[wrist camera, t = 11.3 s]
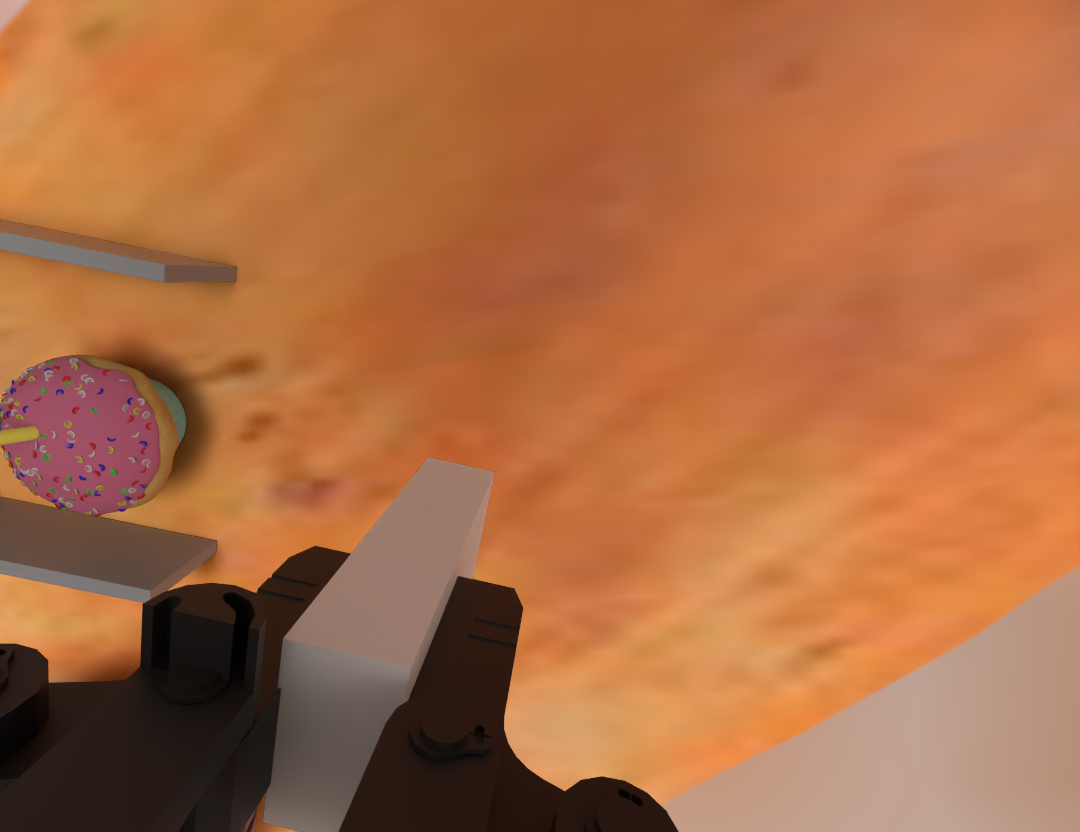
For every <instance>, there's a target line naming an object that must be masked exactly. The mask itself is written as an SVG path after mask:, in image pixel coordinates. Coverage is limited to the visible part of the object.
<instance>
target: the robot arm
mask: <svg viewBox="0 0 1080 832" xmlns="http://www.w3.org/2000/svg"><path fill="white" fill-rule="evenodd" d="M494 473H495V472H492V471H488V470H483V469H479V468H474V467H470V466H465V465H461V464H456V463H452V462H447V461H443V460H438V459H434V458H429V457H428V459H427V460H426V461H425V462H424V463H423V465H422V466H421V467H420V468H419V470H418V471H417V472H416V473H415V475H414V476H413V477H412V478H411V480H410V481H409V482H408V483H407V485H406V486H405V487H404V488H403V490H402V491H401V492H400V493H399V495H398V496H397V497H396V498H395V500H394V501H393V502H392V503H391V505H390V506H389V507H388V508H387V510H386V511H385V512H384V513H383V515H382V516H381V517H380V518H379V520H378V521H377V522H376V523H375V525H374V526H373V527H372V528H371V530H370V531H369V532H368V533H367V535H366V536H365V537H364V538H363V540H362V541H361V542H360V543H359V545H358V546H357V547H356V548H355V550H354V551H353V552H352V553H351V554H350V553H345V552H341V551H336V550H332V549H327V548H323V547H319V546H314V547H311V548H309V549H307V550H305V551H303V552H300V553H298V554H296V555H294V556H292V557H289V558H288V559H287V560H286V561H285V562H284V563H283V564H282V565H281V566H280V567H279V568H278V569H277V570H276V571H275V572H274V573H273V574H272V577H271V578H268V579H267V580H266V581H265V582H264V583H263V584H262V585H261V586H260V587H259V588H258V591H257V593H255V592H251V591H249V590H246V589H244V588H241V587H238V586H236V585H227V584H218V583H206V584H195V585H186V586H183V587H180V588H176V589H173V590H169V591H166V592H163V593H161V594H159V595H157V596H156V597H154V598H152V599H150V600H148V601H147V602H145V603H143V610H142V637H141V664H140V668H138V669H137V670H136V671H135V672H134V673H133V674H132V675H131V676H130V677H129V678H127V679H126V680H120V681H109V682H62V683H48V660H47V659H46V658H45V657H44V656H43V655H42V654H41V653H40V652H39V651H38V650H37V649H33V648H30V647H26V646H22V645H18V644H0V832H245V831H246V824H247V822H248V820H249V819H250V817H251V816H252V814H253V812H254V811H255V809H256V807H257V806H258V804H259V802H260V801H261V799H262V797H263V796H264V794H265V792H266V799H265V808H264V817H263V823H267V824H271V825H275V826H279V827H284V828H288V829H292V830H297V831H301V832H678V830H677V828H676V827H675V825H674V823H673V822H672V820H671V818H670V816H669V815H668V813H667V811H666V810H665V809H664V808H663V807H662V806H660V805H659V804H658V803H657V802H656V801H655V800H654V799H653V798H652V797H651V796H650V795H649V794H648V793H647V792H645V791H643V790H641V789H639V788H637V787H635V786H633V785H632V784H630V783H628V782H626V781H623V780H618V779H613V778H607V777H596V778H590V779H584V780H580V781H579V782H578V783H576V784H575V785H573V786H572V787H570V788H569V789H568V790H566V791H563V790H562V789H560V788H558V787H556V786H554V785H553V784H551V783H549V782H547V781H545V780H544V779H542V778H541V777H539V776H538V775H536V774H535V773H533V772H532V771H530V770H529V769H528V768H527V767H526V766H525V765H524V764H523V763H522V762H521V761H520V760H519V759H518V758H517V757H516V755H515V754H514V752H513V750H512V749H511V747H510V745H509V744H508V741H507V738H506V735H505V731H504V715H505V709H506V703H507V697H508V692H509V686H510V680H511V675H512V669H513V663H514V658H515V652H516V646H517V641H518V635H519V629H520V623H521V618H522V612H523V607H522V604H521V602H520V600H519V598H518V595H517V593H516V591H515V589H514V588H510V587H505V586H501V585H497V584H492V583H488V582H483V581H479V580H474V579H473V577H474V572H475V567H476V562H477V557H478V552H479V547H480V542H481V537H482V532H483V527H484V522H485V517H486V512H487V508H488V503H489V498H490V493H491V488H492V483H493V478H494Z"/></svg>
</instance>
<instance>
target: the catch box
mask: <svg viewBox="0 0 1080 832" xmlns="http://www.w3.org/2000/svg"><path fill="white" fill-rule="evenodd" d="M0 250H5V251H10V252H15V253H20V254H25V255H30V256H35V257H40V258H45V259H50V260H55V261H60V262H65V263H70V264H75V265H80V266H85V267H90V268H95V269H99V270H104V271H109V272H114V273H119V274H124V275H129V276H134V277H139V278H144V279H149V280H154V281H159V282H231V281H236V268H237V267H235V266H230V265H225V264H220V263H215V262H210V261H205V260H200V259H195V258H190V257H185V256H180V255H175V254H170V253H165V252H160V251H155V250H150V249H145V248H140V247H135V246H130V245H125V244H120V243H115V242H110V241H105V240H100V239H95V238H91V237H86V236H81V235H76V234H71V233H66V232H61V231H56V230H51V229H46V228H41V227H36V226H31V225H26V224H21V223H16V222H11V221H6V220H1V219H0ZM216 548H217V541H215V540H210V539H205V538H200V537H195V536H190V535H185V534H180V533H176V532H171V531H166V530H161V529H156V528H151V527H146V526H141V525H136V524H131V523H126V522H121V521H116V520H111V519H107V518H102V517H95V516H92V515H85V514H81V513H77V512H72V511H67V510H62V509H57V508H52V507H47V506H42V505H38V504H33V503H28V502H23V501H18V500H13V499H8V498H3V497H0V574H4V575H9V576H14V577H19V578H24V579H29V580H34V581H39V582H44V583H49V584H54V585H58V586H63V587H68V588H73V589H78V590H83V591H88V592H93V593H98V594H103V595H108V596H113V597H117V598H122V599H127V600H132V601H137V602H142V603H145V602H147V601H148V600H150V599H152V598H154V597H156V596H157V595H159V594H161V593H163V592H166V591H167V590H169V589H170V588H171V587H173V586H174V585H175V584H176V583H178V582H179V581H180V580H182V579H183V578H184V577H185V576H187V575H188V574H189V573H191V572H192V571H193V570H194V569H196V568H197V567H198V566H200V565H201V564H202V563H203V562H205V561H206V560H207V559H208V558H210V557H211V556H212V555H214V554H215V553H216Z"/></svg>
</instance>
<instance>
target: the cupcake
mask: <svg viewBox="0 0 1080 832" xmlns="http://www.w3.org/2000/svg"><path fill="white" fill-rule="evenodd" d="M27 370H28V371H23V372H22V373H21V376H20V377H19V378H18V379H17V380H16V381H15V382H14V380H12V386H11V387H10V388H7V389H4V392H6V394H3V395H2V396H4V395H6V396H5V397H3V398H2V399H1V402H0V408H1V409H0V445H1V447H2V448H3V449H4V456H5V459H6V460H8V461H9V466H10V467H12V468H13V470H14V471H13V472H14V474H15V478H18V479H19V480H21V483H22V485H23V486H27V487H28V488H29V490H30V491H32V493H33V494H34V495H39V496H41V497H42V498H44V499H46V500H48V501H50V502H52V503H54V504H55V506H56V507H57V508H58V509H61V507H63V508H62V509H65V510H71V511H74V512H77V513H81V514H85V515H95V517H97V516H101V515H103V514H106V513H111V512H116V511H121V512H122V511H125V510H126V509H128V508H133V507H137V506H140V505H142V504H144V503H146V502H148V501H150V500H152V499H153V498H154V497H155V496H156V495H157V494H158V493H159V492H160V491H161V490H162V489H163V487H164V486H165V483H166V481H167V479H168V477H169V475H170V472H171V470H172V464H173V457H174V454H175V452H176V450H177V448H178V445H179V444H180V442H181V441H182V439H183V437H184V434H185V430H186V416H185V412H184V409H183V406H182V404H181V402H180V401H179V399H178V398H177V396H176V395H175V394H174V393H173V392H172V391H171V390H170V389H169V388H168V387H166V386H165V385H164V384H162V383H160V382H158V381H156V380H153V379H149V378H147V377H146V376H145V375H144V374H143V373H142V372H140V371H139V370H137V369H134V368H131V367H128V366H125V365H122V364H119V363H117V362H114V361H111V360H107V359H103V358H99V357H95V356H89V355H71V356H64V357H58V358H54V359H50V360H47V361H45V362H43V363H40V364H38V365H36V366H35V367H31V368H27ZM3 399H4V400H3ZM1 404H2V405H3V406H2V405H1ZM2 445H3V446H2ZM34 492H35V493H34Z"/></svg>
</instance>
